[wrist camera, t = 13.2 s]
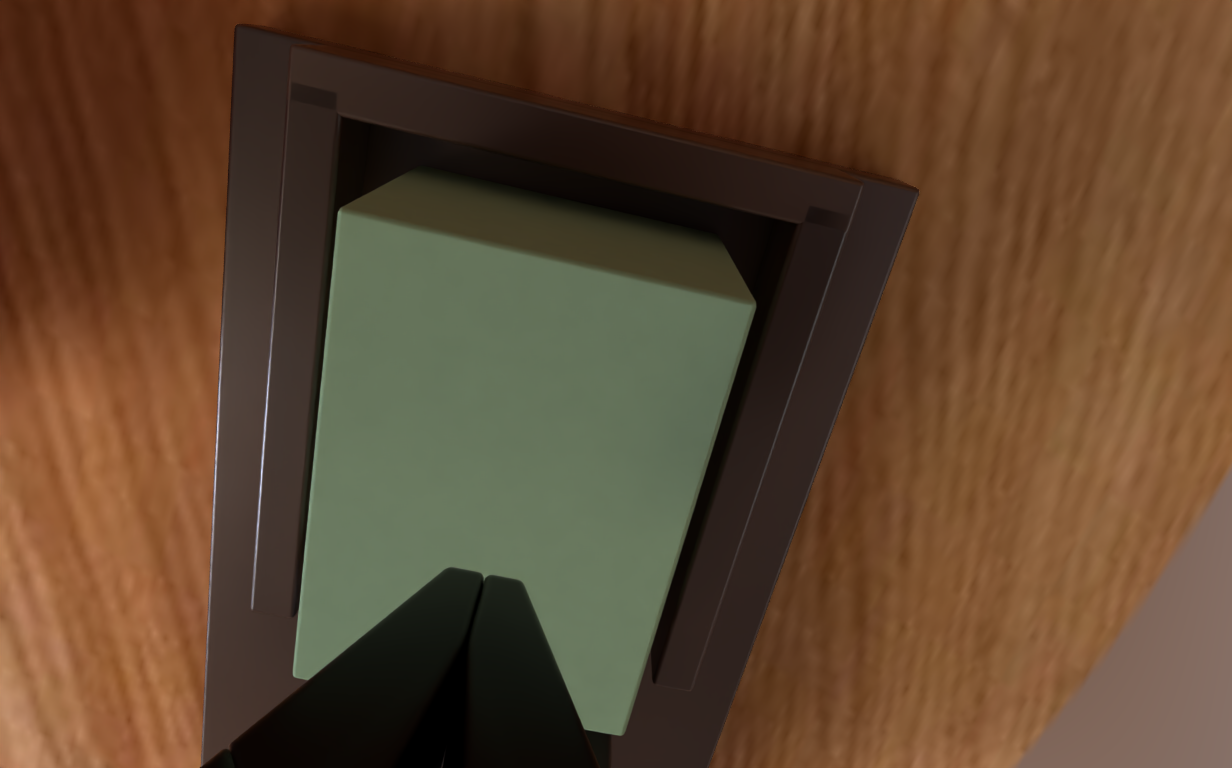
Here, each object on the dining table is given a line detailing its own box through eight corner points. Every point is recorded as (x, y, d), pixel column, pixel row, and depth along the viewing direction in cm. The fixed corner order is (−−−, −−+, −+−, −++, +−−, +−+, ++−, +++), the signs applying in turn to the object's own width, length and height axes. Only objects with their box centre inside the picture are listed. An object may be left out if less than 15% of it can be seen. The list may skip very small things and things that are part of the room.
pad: (719, 234, 13) (759, 303, 9) (623, 579, 16) (624, 738, 12) (418, 163, 13) (335, 206, 9) (369, 529, 15) (290, 679, 12)
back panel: (902, 181, 14) (1045, 241, 9) (665, 843, 20) (679, 1081, 15) (260, 24, 13) (59, 4, 8) (218, 768, 19) (88, 996, 14)
